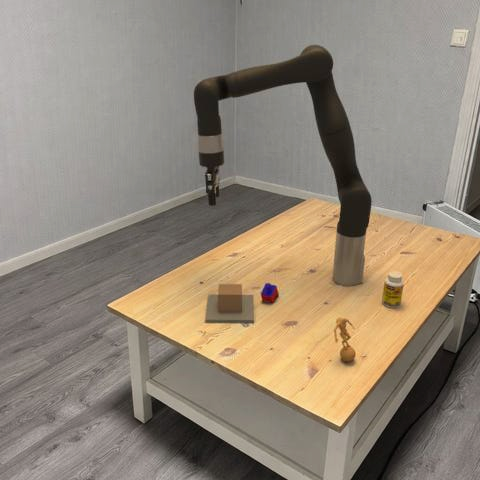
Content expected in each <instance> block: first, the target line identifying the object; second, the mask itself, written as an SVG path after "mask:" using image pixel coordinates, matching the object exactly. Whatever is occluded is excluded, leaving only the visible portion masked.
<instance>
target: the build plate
mask: <svg viewBox="0 0 480 480" xmlns="http://www.w3.org/2000/svg"><path fill="white" fill-rule="evenodd" d="M254 301H255V299H254V294H243V284H242V283H238V284H237V283H235V284H234V283H233V284H232V283H225V284H224V283H219V284H218V288H217V294H208V295H207V305H206V312H205V320H204V321H205V322H204V323H207V324H208V323H209V324H211V323H213V324H217V323H219V324H220V323H221V324H226V323H229V324H233V323H234V324H254V323H255V309H254V308H255V303H254Z"/></svg>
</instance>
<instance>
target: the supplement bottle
mask: <svg viewBox="0 0 480 480" xmlns="http://www.w3.org/2000/svg"><path fill="white" fill-rule="evenodd" d="M404 285H405V282H404V280H403V274H402V273H401V272H400V271H396V270H395V271H389V272H388V274H387V277H386V278H384V284H383V291H382V299H381V302H382V305H383V306H385V307H388V308H390V309H391V308H392V309H393V308H398V307H400V305H401V303H402V297H403V292H404V291H403V290H404Z"/></svg>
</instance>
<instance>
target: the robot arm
mask: <svg viewBox="0 0 480 480" xmlns="http://www.w3.org/2000/svg"><path fill="white" fill-rule="evenodd" d="M333 59H334V58H333V57H332V54H331V53H330V52H329V50H328V49H327V48H325V47H324V46H322V45H320V44H311V45H308V46H306V47H305V48H304V49H303V50H302V51H301V53H300V55H297V56H295V57H292V58H290V59H288V60H285V61H284V60H283V61H281V62H277V63H271V64H263V65H257V66H253V67H252V66H251V67H247V68H243V69H241V70H237V71H232V72H230V73H227V74H224V75H218V76H217V75H216V76H212V77H208V78H204V79H203V80H201V81H199V82H198V83H197V84H196V85H195V86H194V89H193V102H194V108H195V113H196V118H197V119H196V120H197V122H196V123H197V125H196V126H197V151H198V161H199V162H198V163H199V166H200V167H203V168H206V171H205V173H204V174H205V175H204V177H205V178H204V179H205V193H206V194H207V197H208V206H209V207H210V206H211V207H213V206H216V205H217V198H219V197H220V181H221V175H220V172H221V171H220V167H221V166H223V165H224V164H225V150H224V149H225V148H224V139H223V131H222V120H221V119H222V118H221V115H220V110H219V107H220V106H219V101H223V100H227V99H229V98H241V97H244V96H245V97H246V96H248V95H249V96H250V95H252V94H257V93H260V92H263V91H266V90H270V89H274V88H277V87H283V86H287V85H293V84H294V85H295V84H300V83H301V84H303V83H306V86H307V88H308V91H309V94H310V96H311V101H312V105H313V106H312V107H313V112H314V117H315V122H316V127H317V130H318V134H319V138H320V140H321V141H320V142H321V145H322V147H323V150H324V152H325V155H326V157H327V160H328V161H329V163H330V166H331V168H332V170H333V174H334V178H335V183H336V188H337V189H336V190H337V197H338V200H339V204H340V208H339V209H340V210H339V217H338V218H339V220H338V222H337V224H336V234H335V243H334V244H335V247H334V255H333V256H334V257H333V268H332V280H333V282H334V283H336V284H338V285H341V286H347V287H348V286H351V287H352V286H356V285H358V284H363V279H364V278H363V277H364V271H365V262H366V261H365V260H366V256H365V255H364V254H365V246H366V238H367V237H366V236H367V230H368V228H369V225H370V217H371V212H372V211H371V210H372V201H373V200H372V195H371V193H370V192H369V190H368V187H367V186H366V184H365V182H364V181H363V177H362V175H361V173H360V170H359V168H358V164H357V160H356V159H357V158H356V146H355V145H356V144H355V141H354V133H353V130H352V127H351V124H350V120H349V118H348V115H347V112H346V110H345V107H344V105H343V103H342V101H341V99H340V95H339V94H338V91H337V89H336V85H335V79H334V75H333V69H334V60H333ZM210 188H211V189H210Z"/></svg>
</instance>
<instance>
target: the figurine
mask: <svg viewBox="0 0 480 480" xmlns="http://www.w3.org/2000/svg"><path fill="white" fill-rule="evenodd" d="M335 323H336V325H335V327H334V329H333V333H334V341H335V343H339V342H338V341H339V339H338V338H337V337H338V335H337V329H339V331H340V332H339V336H340V337H341V339H342V341H341V344H342V348H341V349H340V350H339V356H340V358H341V360H342V361H343V362H346V363H349V362H352V361H354V360H355V358H356V356H357V355H356V350H355V349H354V347H352V346H351V345H350V344H349V343H348V341H349V340H351V338H352V336H351V335H350V333H349V331H348V329H347V328H346V327H347V323H348V324H349V325H350V326H351V327H352V329H353V330H355V328H354V325H353V324H352V322H351V321H350V320H349V319H348V318H345V317H344V318H343V317H338V318H337V319H336V321H335ZM345 344H346V345H345Z"/></svg>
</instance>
